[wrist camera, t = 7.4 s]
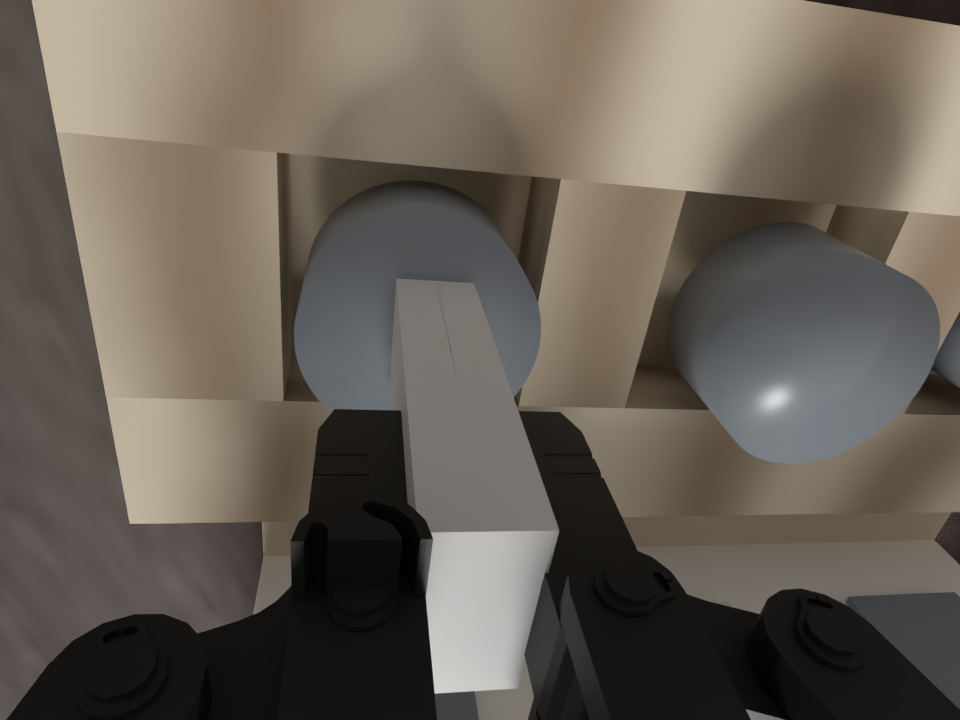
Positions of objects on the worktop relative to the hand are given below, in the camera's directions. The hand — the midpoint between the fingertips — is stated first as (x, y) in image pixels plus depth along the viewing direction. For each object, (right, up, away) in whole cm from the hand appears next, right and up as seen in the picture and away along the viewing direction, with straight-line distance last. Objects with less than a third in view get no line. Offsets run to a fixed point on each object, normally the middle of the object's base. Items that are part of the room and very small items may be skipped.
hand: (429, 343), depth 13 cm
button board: (+8, +2, +6) cm, 10 cm away
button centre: (+8, +1, +4) cm, 9 cm away
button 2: (-1, +1, +3) cm, 3 cm away
